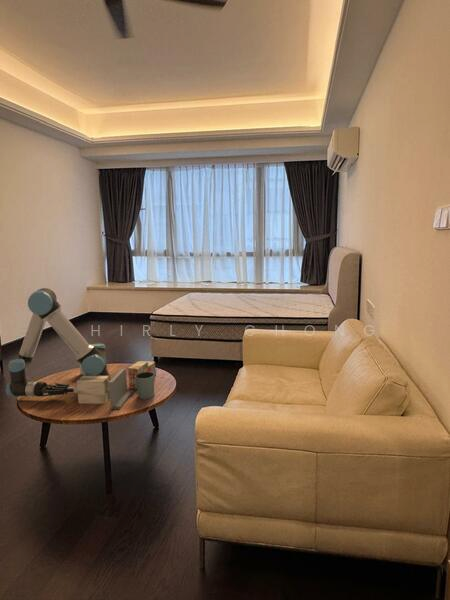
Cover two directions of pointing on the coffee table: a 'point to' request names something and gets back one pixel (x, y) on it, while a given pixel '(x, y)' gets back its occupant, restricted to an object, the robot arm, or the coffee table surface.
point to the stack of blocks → (138, 368)
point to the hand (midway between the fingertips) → (80, 389)
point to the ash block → (93, 389)
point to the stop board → (119, 390)
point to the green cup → (145, 384)
